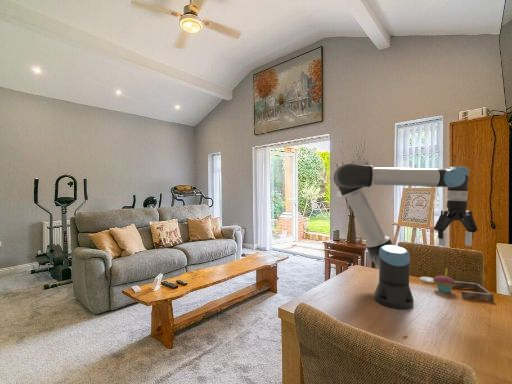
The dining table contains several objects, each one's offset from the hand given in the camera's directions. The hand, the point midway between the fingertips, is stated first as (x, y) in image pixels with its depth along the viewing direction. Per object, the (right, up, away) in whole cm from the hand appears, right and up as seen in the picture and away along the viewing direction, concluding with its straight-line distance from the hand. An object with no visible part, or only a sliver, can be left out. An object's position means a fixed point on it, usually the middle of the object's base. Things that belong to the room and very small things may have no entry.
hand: (455, 245), depth 121 cm
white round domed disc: (-1, -22, +18) cm, 28 cm away
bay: (+7, -23, +1) cm, 24 cm away
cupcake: (-2, -23, +4) cm, 23 cm away
